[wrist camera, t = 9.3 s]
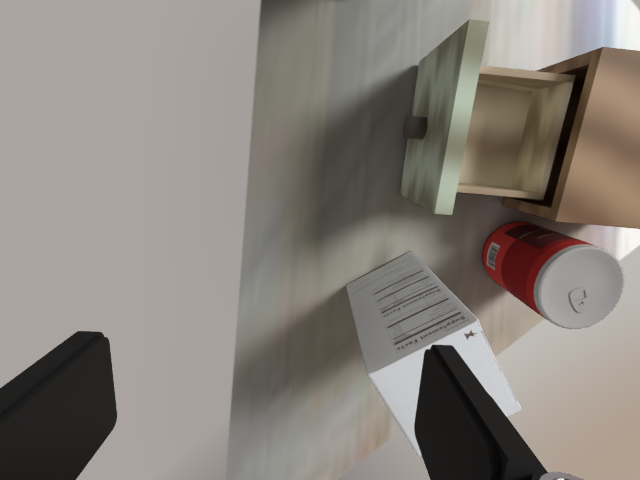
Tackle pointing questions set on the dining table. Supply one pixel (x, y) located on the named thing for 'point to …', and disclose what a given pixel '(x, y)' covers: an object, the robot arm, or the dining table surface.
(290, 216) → the dining table surface
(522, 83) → the drawer
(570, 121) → the cabinet
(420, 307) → the supplement box
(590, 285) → the canned food
